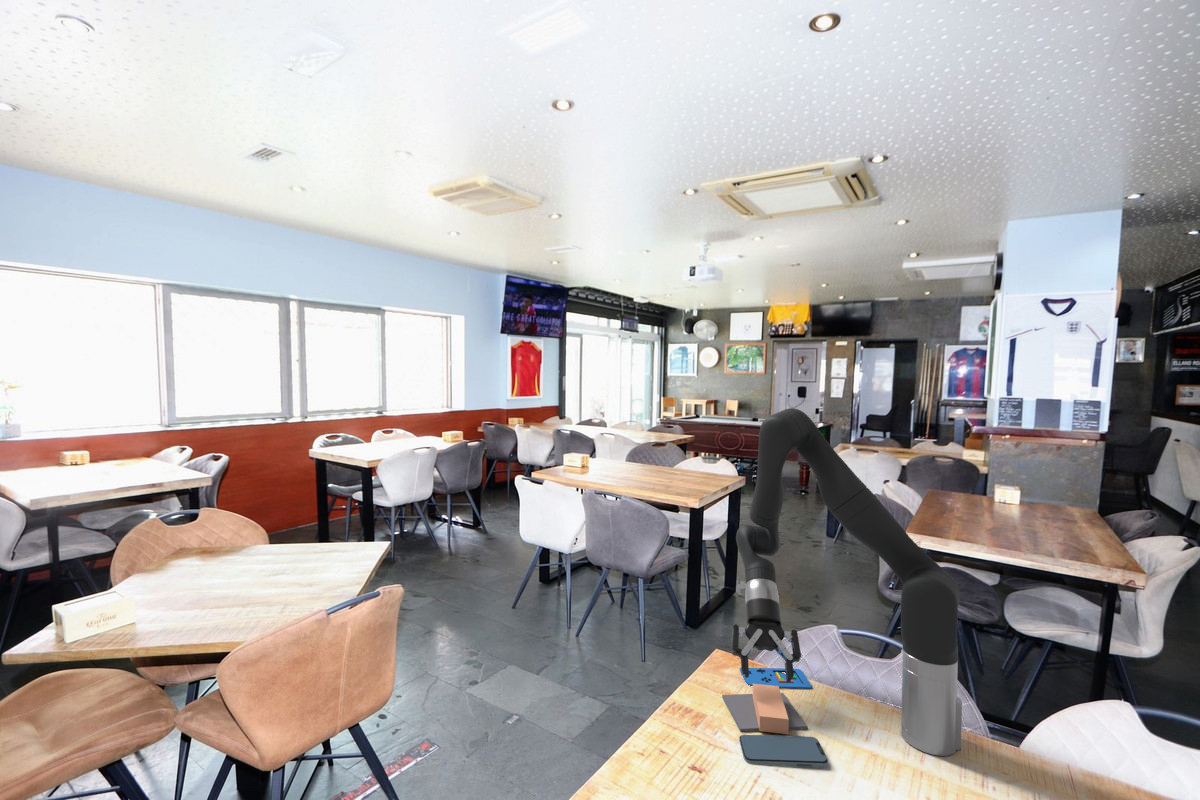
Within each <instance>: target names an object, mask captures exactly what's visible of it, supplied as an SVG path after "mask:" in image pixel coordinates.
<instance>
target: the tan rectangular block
mask: <svg viewBox="0 0 1200 800" xmlns="http://www.w3.org/2000/svg"><path fill="white" fill-rule="evenodd" d="M781 693H782V692H781V690H780V689H779V686H771V685H761V684H753V687H752V694H753V701H754V706H755V711H756V716H757V721H758V726H759V731H758V732H765V733H766V732H767V733H773V734H783V735H784V734H785V735H789V730H788V726H789V719H788V716H787V712H786V709H785V706H784V702H783V699H782V696H781Z"/></svg>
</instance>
